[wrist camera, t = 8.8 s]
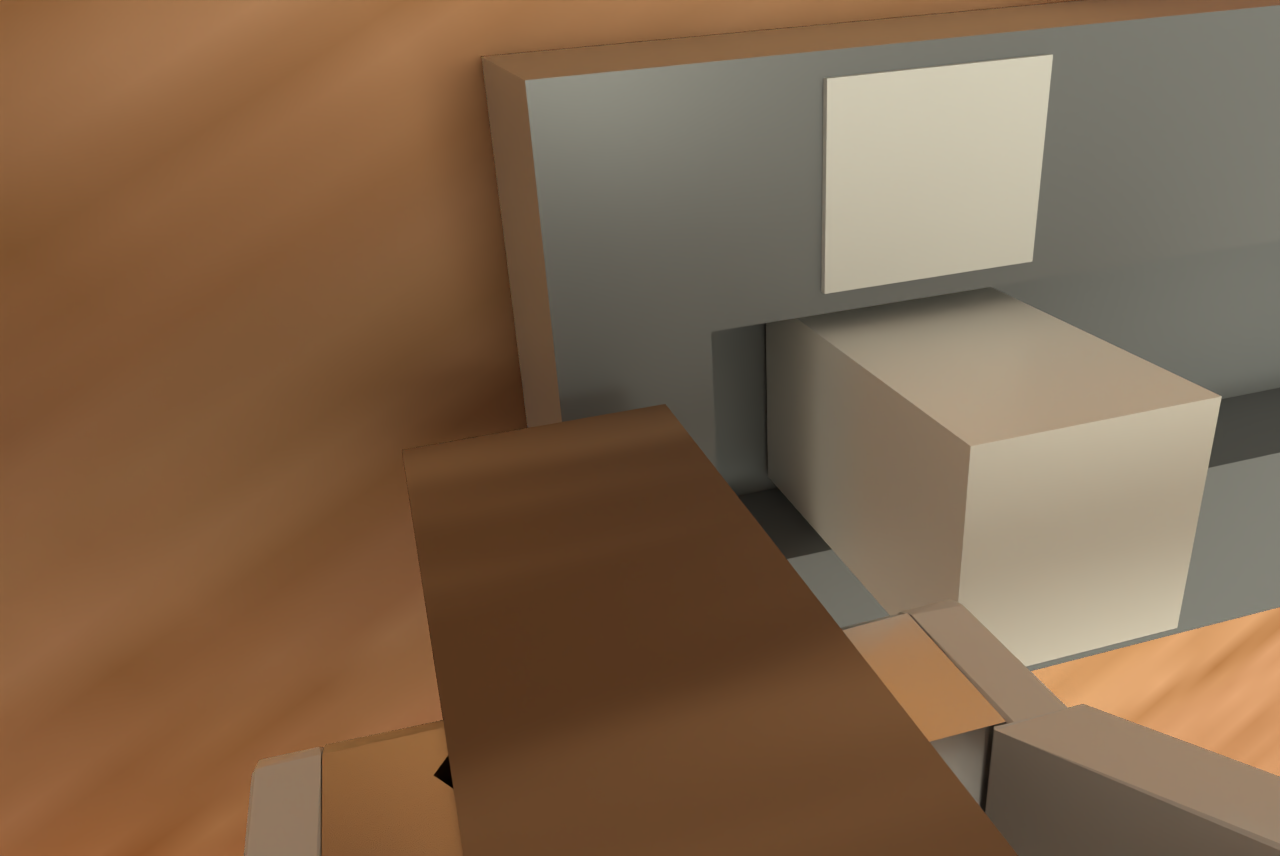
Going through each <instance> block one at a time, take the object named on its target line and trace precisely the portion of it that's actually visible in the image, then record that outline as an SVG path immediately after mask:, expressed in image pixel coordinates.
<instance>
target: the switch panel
mask: <svg viewBox="0 0 1280 856" xmlns="http://www.w3.org/2000/svg"><path fill="white" fill-rule="evenodd" d="M481 59H482V67H483V75H484V83H485V91H486V99H487V107H488V115H489V123H490V131H491V139H492V147H493V155H494V163H495V171H496V179H497V187H498V195H499V203H500V211H501V219H502V227H503V235H504V244H505V252H506V260H507V268H508V276H509V284H510V292H511V300H512V308H513V316H514V324H515V332H516V340H517V348H518V356H519V364H520V372H521V380H522V388H523V396H524V404H525V412H526V420H527V428H530V427H536V426H542V425H547V424H553V423H559V422H564V421H570V420H576V419H582V418H587V417H593V416H599V415H604V414H610V413H616V412H622V411H627V410H633V409H639V408H644V407H650V406H656V405H662V404H666V405H667V407H668V408H669V409H670V410H671V412H672V413H673V414H674V415H675V417H676V418H677V419H678V421H679V422H680V423H681V424H682V426H683V427H684V428H685V430H686V431H687V432H688V433H689V435H690V436H691V437H692V439H693V440H694V441H695V442H696V444H697V445H698V446H699V447H700V449H701V450H702V451H703V453H704V454H705V455H706V456H707V458H708V459H709V460H710V462H711V463H712V464H713V465H714V467H715V468H716V469H717V471H718V472H719V473H720V474H721V476H722V477H723V478H724V479H725V481H726V482H727V483H728V485H729V486H730V487H731V488H732V490H733V491H734V492H735V494H736V495H737V496H738V497H739V499H740V500H741V501H742V503H743V504H744V505H745V506H746V508H747V509H748V510H749V511H750V513H751V514H752V515H753V517H754V518H755V519H756V520H757V522H758V523H759V524H760V526H761V527H762V528H763V529H764V531H765V532H766V533H767V535H768V536H769V537H770V538H771V540H772V541H773V542H774V543H775V545H776V546H777V547H778V549H779V550H780V551H781V552H782V554H783V555H784V556H785V558H786V559H787V560H788V561H789V563H790V564H791V565H792V567H793V568H794V569H795V570H796V572H797V573H798V574H799V575H800V577H801V578H802V579H803V581H804V582H805V583H806V584H807V586H808V587H809V588H810V590H811V591H812V592H813V593H814V595H815V596H816V597H817V599H818V600H819V601H820V602H821V604H822V605H823V606H824V607H825V609H826V610H827V611H828V613H829V614H830V615H831V616H832V618H833V619H834V620H835V622H836V623H837V624H838V625H839V627H845V626H849V625H853V624H857V623H861V622H865V621H870V620H874V619H878V618H882V617H886V616H890V615H889V614H888V613H887V612H886V610H885V609H884V608H883V607H882V606H881V605H880V604H879V602H878V601H877V600H876V599H875V598H874V597H873V596H872V594H871V593H870V592H869V591H868V590H867V589H866V588H865V586H864V585H863V584H862V583H861V582H860V581H859V580H858V578H857V577H856V576H855V575H854V574H853V573H852V572H851V571H850V569H849V568H848V567H847V566H846V565H845V564H844V563H843V561H842V560H841V559H840V558H839V557H838V556H837V555H836V553H835V552H834V551H833V550H832V549H831V548H830V547H829V545H828V544H827V543H826V542H825V541H824V540H823V539H822V537H821V536H820V535H819V534H818V533H817V532H816V531H815V529H814V528H813V527H812V526H811V525H810V524H809V523H808V522H807V520H806V519H805V518H804V517H803V516H802V515H801V514H800V512H799V511H798V510H797V509H796V508H795V507H794V506H793V504H792V503H791V502H790V501H789V500H788V499H787V498H786V496H785V495H784V494H783V493H782V492H781V491H780V490H779V488H778V487H777V486H776V485H775V484H774V483H773V482H772V480H771V479H770V478H769V477H768V444H767V373H766V323H770V322H776V321H782V320H788V319H794V318H801V317H807V316H813V315H819V314H825V313H832V312H838V311H844V310H850V309H856V308H863V307H869V306H875V305H881V304H887V303H894V302H900V301H906V300H912V299H919V298H925V297H931V296H937V295H943V294H950V293H956V292H962V291H968V290H974V289H981V288H987V287H992V288H994V289H996V290H998V291H1001V292H1003V293H1005V294H1007V295H1009V296H1011V297H1013V298H1015V299H1017V300H1019V301H1022V302H1024V303H1026V304H1028V305H1030V306H1032V307H1034V308H1036V309H1038V310H1041V311H1043V312H1045V313H1047V314H1049V315H1051V316H1053V317H1055V318H1057V319H1060V320H1062V321H1064V322H1066V323H1068V324H1070V325H1072V326H1074V327H1076V328H1079V329H1081V330H1083V331H1085V332H1087V333H1089V334H1091V335H1093V336H1095V337H1098V338H1100V339H1102V340H1104V341H1106V342H1108V343H1110V344H1112V345H1114V346H1117V347H1119V348H1121V349H1123V350H1125V351H1127V352H1129V353H1131V354H1133V355H1136V356H1138V357H1140V358H1142V359H1144V360H1146V361H1148V362H1150V363H1152V364H1155V365H1157V366H1159V367H1161V368H1163V369H1165V370H1167V371H1169V372H1171V373H1174V374H1176V375H1178V376H1180V377H1182V378H1184V379H1186V380H1188V381H1190V382H1193V383H1195V384H1197V385H1199V386H1201V387H1203V388H1205V389H1207V390H1209V391H1211V392H1214V393H1216V394H1218V395H1220V396H1222V398H1221V403H1220V408H1219V414H1218V419H1217V424H1216V429H1215V434H1214V440H1213V445H1212V450H1211V455H1210V460H1209V466H1208V471H1207V476H1206V481H1205V486H1204V492H1203V497H1202V502H1201V507H1200V512H1199V517H1198V523H1197V528H1196V533H1195V538H1194V543H1193V549H1192V554H1191V559H1190V564H1189V569H1188V575H1187V580H1186V585H1185V590H1184V595H1183V601H1182V606H1181V611H1180V616H1179V621H1178V627H1177V628H1175V629H1171V630H1167V631H1163V632H1159V633H1155V634H1152V635H1148V636H1144V637H1140V638H1136V639H1132V640H1128V641H1124V642H1120V643H1116V644H1112V645H1108V646H1105V647H1101V648H1097V649H1093V650H1089V651H1085V652H1081V653H1077V654H1073V655H1069V656H1065V657H1062V658H1058V659H1054V660H1050V661H1046V662H1042V663H1038V664H1034V665H1030V666H1026V667H1027V668H1028V669H1029V670H1030V671H1033V670H1037V669H1041V668H1045V667H1049V666H1052V665H1056V664H1060V663H1064V662H1068V661H1072V660H1076V659H1080V658H1084V657H1087V656H1091V655H1095V654H1099V653H1103V652H1107V651H1111V650H1115V649H1119V648H1123V647H1126V646H1130V645H1134V644H1138V643H1142V642H1146V641H1150V640H1154V639H1158V638H1161V637H1165V636H1169V635H1173V634H1177V633H1181V632H1185V631H1189V630H1193V629H1196V628H1200V627H1204V626H1208V625H1212V624H1216V623H1220V622H1224V621H1228V620H1232V619H1235V618H1239V617H1243V616H1247V615H1251V614H1255V613H1259V612H1263V611H1267V610H1270V609H1274V608H1278V607H1280V0H1080V1H1069V2H1058V3H1048V4H1037V5H1026V6H1016V7H1005V8H994V9H983V10H973V11H962V12H951V13H941V14H930V15H919V16H909V17H898V18H887V19H877V20H866V21H855V22H844V23H834V24H823V25H812V26H802V27H791V28H780V29H770V30H759V31H748V32H738V33H727V34H716V35H705V36H695V37H684V38H673V39H663V40H652V41H641V42H631V43H620V44H609V45H599V46H588V47H577V48H566V49H556V50H545V51H534V52H524V53H513V54H502V55H492V56H481Z"/></svg>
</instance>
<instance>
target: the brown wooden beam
mask: <svg viewBox="0 0 1280 856" xmlns="http://www.w3.org/2000/svg"><path fill="white" fill-rule="evenodd" d="M402 454H403V461H404V467H405V474H406V480H407V487H408V494H409V500H410V507H411V513H412V520H413V526H414V533H415V539H416V546H417V553H418V559H419V566H420V572H421V579H422V585H423V592H424V598H425V605H426V612H427V618H428V625H429V631H430V638H431V644H432V651H433V657H434V664H435V671H436V677H437V684H438V690H439V697H440V703H441V710H442V717H443V723H444V730H445V736H446V743H447V749H448V756H449V762H450V769H451V776H452V782H453V789H454V795H455V802H456V808H457V815H458V821H459V828H460V835H461V841H462V848H463V854H464V856H1018V855H1017V853H1016V852H1015V851H1014V849H1013V848H1012V847H1011V846H1010V844H1009V843H1008V842H1007V840H1006V839H1005V838H1004V837H1003V835H1002V834H1001V833H1000V832H999V830H998V829H997V828H996V826H995V825H994V824H993V823H992V821H991V820H990V819H989V817H988V816H987V815H986V814H985V812H984V811H983V810H982V808H981V807H980V806H979V805H978V803H977V802H976V801H975V800H974V798H973V797H972V796H971V794H970V793H969V792H968V791H967V789H966V788H965V787H964V785H963V784H962V783H961V782H960V780H959V779H958V778H957V776H956V775H955V774H954V773H953V771H952V770H951V769H950V768H949V766H948V765H947V764H946V762H945V761H944V760H943V759H942V757H941V756H940V755H939V753H938V752H937V751H936V750H935V748H934V747H933V746H932V744H931V743H930V742H929V741H928V739H927V738H926V737H925V736H924V734H923V733H922V732H921V730H920V729H919V728H918V727H917V725H916V724H915V723H914V721H913V720H912V719H911V718H910V716H909V715H908V714H907V712H906V711H905V710H904V709H903V707H902V706H901V705H900V704H899V702H898V701H897V700H896V698H895V697H894V696H893V695H892V693H891V692H890V691H889V689H888V688H887V687H886V686H885V684H884V683H883V682H882V680H881V679H880V678H879V677H878V675H877V674H876V673H875V672H874V670H873V669H872V668H871V666H870V665H869V664H868V663H867V661H866V660H865V659H864V657H863V656H862V655H861V654H860V652H859V651H858V650H857V648H856V647H855V646H854V645H853V643H852V642H851V641H850V640H849V638H848V637H847V636H846V634H845V633H844V632H843V631H842V629H841V628H840V627H839V625H838V624H837V623H836V622H835V620H834V619H833V618H832V616H831V615H830V614H829V613H828V611H827V610H826V609H825V607H824V606H823V605H822V604H821V602H820V601H819V600H818V599H817V597H816V596H815V595H814V593H813V592H812V591H811V590H810V588H809V587H808V586H807V584H806V583H805V582H804V581H803V579H802V578H801V577H800V575H799V574H798V573H797V572H796V570H795V569H794V568H793V567H792V565H791V564H790V563H789V561H788V560H787V559H786V558H785V556H784V555H783V554H782V552H781V551H780V550H779V549H778V547H777V546H776V545H775V543H774V542H773V541H772V540H771V538H770V537H769V536H768V535H767V533H766V532H765V531H764V529H763V528H762V527H761V526H760V524H759V523H758V522H757V520H756V519H755V518H754V517H753V515H752V514H751V513H750V511H749V510H748V509H747V508H746V506H745V505H744V504H743V503H742V501H741V500H740V499H739V497H738V496H737V495H736V494H735V492H734V491H733V490H732V488H731V487H730V486H729V485H728V483H727V482H726V481H725V479H724V478H723V477H722V476H721V474H720V473H719V472H718V471H717V469H716V468H715V467H714V465H713V464H712V463H711V462H710V460H709V459H708V458H707V456H706V455H705V454H704V453H703V451H702V450H701V449H700V447H699V446H698V445H697V444H696V442H695V441H694V440H693V439H692V437H691V436H690V435H689V433H688V432H687V431H686V430H685V428H684V427H683V426H682V424H681V423H680V422H679V421H678V419H677V418H676V417H675V415H674V414H673V413H672V412H671V410H670V409H669V408H668V407H667V405H666V404H662V405H656V406H650V407H644V408H639V409H633V410H627V411H622V412H616V413H610V414H604V415H599V416H593V417H587V418H582V419H576V420H570V421H564V422H559V423H553V424H547V425H542V426H536V427H530V428H524V429H519V430H513V431H507V432H502V433H496V434H490V435H484V436H479V437H473V438H467V439H462V440H456V441H450V442H444V443H439V444H433V445H427V446H422V447H416V448H410V449H404V450H402Z"/></svg>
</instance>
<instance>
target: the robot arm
mask: <svg viewBox="0 0 1280 856" xmlns="http://www.w3.org/2000/svg"><path fill="white" fill-rule="evenodd" d="M840 628H841V629H842V631H843V632H844V633H845V634H846V636H847V637H848V638H849V640H850V641H851V642H852V643H853V645H854V646H855V647H856V648H857V650H858V651H859V652H860V654H861V655H862V656H863V657H864V659H865V660H866V661H867V663H868V664H869V665H870V666H871V668H872V669H873V670H874V672H875V673H876V674H877V675H878V677H879V678H880V679H881V680H882V682H883V683H884V684H885V686H886V687H887V688H888V689H889V691H890V692H891V693H892V695H893V696H894V697H895V698H896V700H897V701H898V702H899V704H900V705H901V706H902V707H903V709H904V710H905V711H906V712H907V714H908V715H909V716H910V718H911V719H912V720H913V721H914V723H915V724H916V725H917V727H918V728H919V729H920V730H921V732H922V733H923V734H924V736H925V737H926V738H927V739H928V741H929V742H930V743H931V744H932V746H933V747H934V748H935V750H936V751H937V752H938V753H939V755H940V756H941V757H942V759H943V760H944V761H945V762H946V764H947V765H948V766H949V768H950V769H951V770H952V771H953V773H954V774H955V775H956V776H957V778H958V779H959V780H960V782H961V783H962V784H963V785H964V787H965V788H966V789H967V791H968V792H969V793H970V794H971V796H972V797H973V798H974V800H975V801H976V802H977V803H978V805H979V806H980V807H981V808H982V810H983V811H984V812H985V814H986V815H987V816H988V817H989V819H990V820H991V821H992V823H993V824H994V825H995V826H996V828H997V829H998V830H999V832H1000V833H1001V834H1002V835H1003V837H1004V838H1005V839H1006V840H1007V842H1008V843H1009V844H1010V846H1011V847H1012V848H1013V849H1014V851H1015V852H1016V853H1017V855H1018V856H1280V777H1279V776H1277V775H1274V774H1271V773H1269V772H1266V771H1263V770H1261V769H1258V768H1255V767H1252V766H1250V765H1247V764H1244V763H1242V762H1239V761H1236V760H1234V759H1231V758H1228V757H1225V756H1223V755H1220V754H1217V753H1215V752H1212V751H1209V750H1207V749H1204V748H1201V747H1198V746H1196V745H1193V744H1190V743H1188V742H1185V741H1182V740H1179V739H1177V738H1174V737H1171V736H1169V735H1166V734H1163V733H1161V732H1158V731H1155V730H1152V729H1150V728H1147V727H1144V726H1142V725H1139V724H1136V723H1134V722H1131V721H1128V720H1125V719H1123V718H1120V717H1117V716H1115V715H1112V714H1109V713H1107V712H1104V711H1101V710H1098V709H1096V708H1093V707H1090V706H1088V705H1085V704H1081V705H1077V706H1073V707H1069V708H1067V707H1066V706H1065V705H1064V704H1063V703H1062V702H1061V701H1060V700H1059V699H1058V698H1057V697H1056V696H1055V695H1054V694H1053V693H1052V692H1051V691H1050V690H1049V689H1048V688H1047V687H1046V686H1045V685H1044V684H1043V683H1042V682H1041V681H1040V680H1039V679H1038V678H1037V677H1036V676H1035V675H1034V674H1033V673H1032V672H1031V671H1030V670H1029V669H1028V668H1027V667H1026V666H1025V665H1024V664H1023V663H1022V662H1021V661H1020V660H1019V659H1018V658H1016V657H1015V656H1014V655H1013V654H1012V653H1011V652H1010V651H1009V650H1008V649H1007V648H1006V647H1005V646H1004V645H1003V644H1002V643H1001V642H1000V641H999V640H998V639H997V638H996V637H995V636H994V635H993V634H992V633H991V632H990V631H989V630H988V629H987V628H986V627H985V626H984V625H983V624H982V623H981V622H980V621H979V620H978V619H977V618H976V617H975V616H974V615H973V614H972V613H971V612H970V611H969V610H968V609H967V608H966V607H965V606H964V605H962V604H961V603H959V602H956V601H953V600H951V599H947V600H943V601H939V602H935V603H932V604H928V605H924V606H920V607H916V608H912V609H908V610H905V611H901V612H899V613H898V614H896V615H890V616H886V617H882V618H878V619H874V620H870V621H865V622H861V623H857V624H853V625H849V626H845V627H840ZM244 856H464V854H463V848H462V841H461V835H460V828H459V821H458V815H457V808H456V802H455V795H454V789H453V782H452V776H451V769H450V762H449V756H448V749H447V743H446V736H445V730H444V723H443V720H440V721H436V722H431V723H426V724H421V725H417V726H412V727H407V728H402V729H398V730H393V731H388V732H383V733H379V734H374V735H369V736H364V737H360V738H355V739H350V740H345V741H341V742H336V743H331V744H326V745H325V747H316V748H311V749H307V750H302V751H298V752H293V753H288V754H284V755H279V756H275V757H270V758H265V759H261V760H259V761H258V763H257V765H256V767H255V769H254V771H253V773H252V778H251V788H250V798H249V808H248V819H247V829H246V839H245V849H244Z"/></svg>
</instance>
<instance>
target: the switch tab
mask: <svg viewBox="0 0 1280 856" xmlns="http://www.w3.org/2000/svg"><path fill="white" fill-rule="evenodd" d="M766 373H767V444H768V477H769V478H770V479H771V480H772V482H773V483H774V484H775V485H776V486H777V487H778V488H779V490H780V491H781V492H782V493H783V494H784V495H785V496H786V498H787V499H788V500H789V501H790V502H791V503H792V504H793V506H794V507H795V508H796V509H797V510H798V511H799V512H800V514H801V515H802V516H803V517H804V518H805V519H806V520H807V522H808V523H809V524H810V525H811V526H812V527H813V528H814V529H815V531H816V532H817V533H818V534H819V535H820V536H821V537H822V539H823V540H824V541H825V542H826V543H827V544H828V545H829V547H830V548H831V549H832V550H833V551H834V552H835V553H836V555H837V556H838V557H839V558H840V559H841V560H842V561H843V563H844V564H845V565H846V566H847V567H848V568H849V569H850V571H851V572H852V573H853V574H854V575H855V576H856V577H857V578H858V580H859V581H860V582H861V583H862V584H863V585H864V586H865V588H866V589H867V590H868V591H869V592H870V593H871V594H872V596H873V597H874V598H875V599H876V600H877V601H878V602H879V604H880V605H881V606H882V607H883V608H884V609H885V610H886V612H887V613H888V614H889V615H896V614H898V613H899V612H901V611H905V610H908V609H912V608H916V607H920V606H924V605H928V604H932V603H935V602H939V601H943V600H947V599H951V600H953V601H956V602H959V603H961V604H962V605H964V606H965V607H966V608H967V609H968V610H969V611H970V612H971V613H972V614H973V615H974V616H975V617H976V618H977V619H978V620H979V621H980V622H981V623H982V624H983V625H984V626H985V627H986V628H987V629H988V630H989V631H990V632H991V633H992V634H993V635H994V636H995V637H996V638H997V639H998V640H999V641H1000V642H1001V643H1002V644H1003V645H1004V646H1005V647H1006V648H1007V649H1008V650H1009V651H1010V652H1011V653H1012V654H1013V655H1014V656H1015V657H1016V658H1018V659H1019V660H1020V661H1021V662H1022V663H1023V664H1024V665H1025V666H1030V665H1034V664H1038V663H1042V662H1046V661H1050V660H1054V659H1058V658H1062V657H1065V656H1069V655H1073V654H1077V653H1081V652H1085V651H1089V650H1093V649H1097V648H1101V647H1105V646H1108V645H1112V644H1116V643H1120V642H1124V641H1128V640H1132V639H1136V638H1140V637H1144V636H1148V635H1152V634H1155V633H1159V632H1163V631H1167V630H1171V629H1175V628H1177V627H1178V621H1179V616H1180V611H1181V606H1182V601H1183V595H1184V590H1185V585H1186V580H1187V575H1188V569H1189V564H1190V559H1191V554H1192V549H1193V543H1194V538H1195V533H1196V528H1197V523H1198V517H1199V512H1200V507H1201V502H1202V497H1203V492H1204V486H1205V481H1206V476H1207V471H1208V466H1209V460H1210V455H1211V450H1212V445H1213V440H1214V434H1215V429H1216V424H1217V419H1218V414H1219V408H1220V403H1221V398H1222V396H1220V395H1218V394H1216V393H1214V392H1211V391H1209V390H1207V389H1205V388H1203V387H1201V386H1199V385H1197V384H1195V383H1193V382H1190V381H1188V380H1186V379H1184V378H1182V377H1180V376H1178V375H1176V374H1174V373H1171V372H1169V371H1167V370H1165V369H1163V368H1161V367H1159V366H1157V365H1155V364H1152V363H1150V362H1148V361H1146V360H1144V359H1142V358H1140V357H1138V356H1136V355H1133V354H1131V353H1129V352H1127V351H1125V350H1123V349H1121V348H1119V347H1117V346H1114V345H1112V344H1110V343H1108V342H1106V341H1104V340H1102V339H1100V338H1098V337H1095V336H1093V335H1091V334H1089V333H1087V332H1085V331H1083V330H1081V329H1079V328H1076V327H1074V326H1072V325H1070V324H1068V323H1066V322H1064V321H1062V320H1060V319H1057V318H1055V317H1053V316H1051V315H1049V314H1047V313H1045V312H1043V311H1041V310H1038V309H1036V308H1034V307H1032V306H1030V305H1028V304H1026V303H1024V302H1022V301H1019V300H1017V299H1015V298H1013V297H1011V296H1009V295H1007V294H1005V293H1003V292H1001V291H998V290H996V289H994V288H992V287H987V288H981V289H974V290H968V291H962V292H956V293H950V294H943V295H937V296H931V297H925V298H919V299H912V300H906V301H900V302H894V303H887V304H881V305H875V306H869V307H863V308H856V309H850V310H844V311H838V312H832V313H825V314H819V315H813V316H807V317H801V318H794V319H788V320H782V321H776V322H770V323H766Z"/></svg>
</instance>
